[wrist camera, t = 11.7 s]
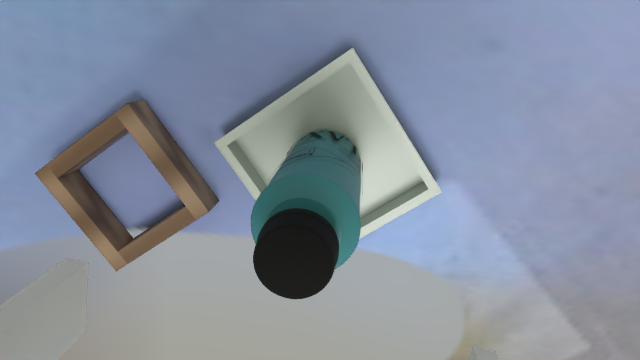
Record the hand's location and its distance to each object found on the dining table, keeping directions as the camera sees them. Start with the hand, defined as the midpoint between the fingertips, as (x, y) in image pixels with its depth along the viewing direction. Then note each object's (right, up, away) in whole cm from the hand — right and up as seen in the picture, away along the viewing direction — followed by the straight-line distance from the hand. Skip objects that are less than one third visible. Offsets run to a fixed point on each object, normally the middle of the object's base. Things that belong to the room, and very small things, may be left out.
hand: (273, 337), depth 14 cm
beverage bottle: (+2, +7, +24) cm, 26 cm away
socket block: (-16, +5, +27) cm, 32 cm away
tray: (+2, +7, +25) cm, 26 cm away
